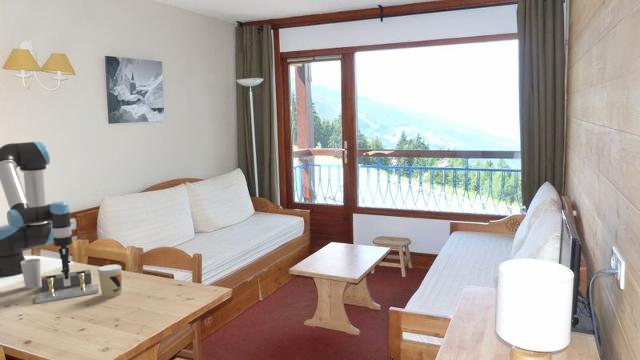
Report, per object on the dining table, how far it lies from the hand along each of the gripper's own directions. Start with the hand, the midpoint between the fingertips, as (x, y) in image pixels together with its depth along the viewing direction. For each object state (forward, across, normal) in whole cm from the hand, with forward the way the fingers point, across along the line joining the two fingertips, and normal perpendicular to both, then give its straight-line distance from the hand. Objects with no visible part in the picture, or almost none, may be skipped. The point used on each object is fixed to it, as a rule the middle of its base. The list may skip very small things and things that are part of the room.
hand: (67, 281), depth 232 cm
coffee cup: (+2, +24, +17) cm, 29 cm away
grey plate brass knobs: (+2, +14, 0) cm, 14 cm away
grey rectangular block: (+2, 0, 0) cm, 2 cm away
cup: (+2, -7, -14) cm, 16 cm away
